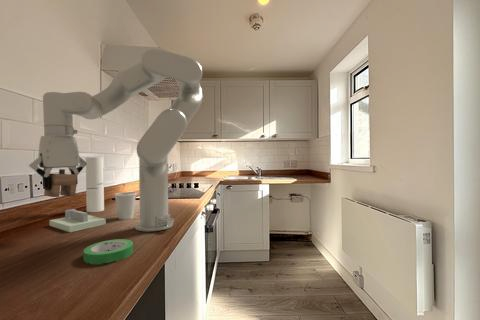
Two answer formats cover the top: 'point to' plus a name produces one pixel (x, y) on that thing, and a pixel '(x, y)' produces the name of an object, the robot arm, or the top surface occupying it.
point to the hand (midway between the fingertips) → (61, 187)
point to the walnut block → (62, 184)
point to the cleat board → (76, 221)
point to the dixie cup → (125, 204)
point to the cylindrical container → (94, 184)
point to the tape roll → (118, 247)
